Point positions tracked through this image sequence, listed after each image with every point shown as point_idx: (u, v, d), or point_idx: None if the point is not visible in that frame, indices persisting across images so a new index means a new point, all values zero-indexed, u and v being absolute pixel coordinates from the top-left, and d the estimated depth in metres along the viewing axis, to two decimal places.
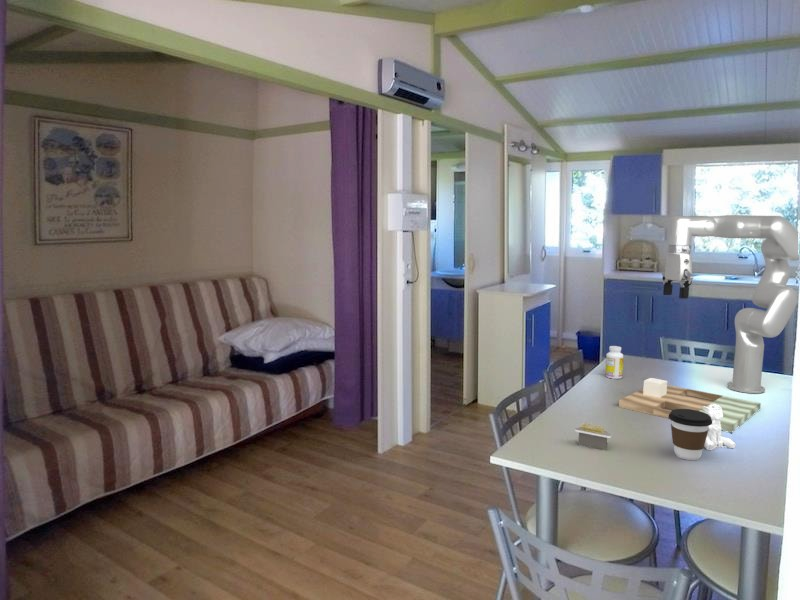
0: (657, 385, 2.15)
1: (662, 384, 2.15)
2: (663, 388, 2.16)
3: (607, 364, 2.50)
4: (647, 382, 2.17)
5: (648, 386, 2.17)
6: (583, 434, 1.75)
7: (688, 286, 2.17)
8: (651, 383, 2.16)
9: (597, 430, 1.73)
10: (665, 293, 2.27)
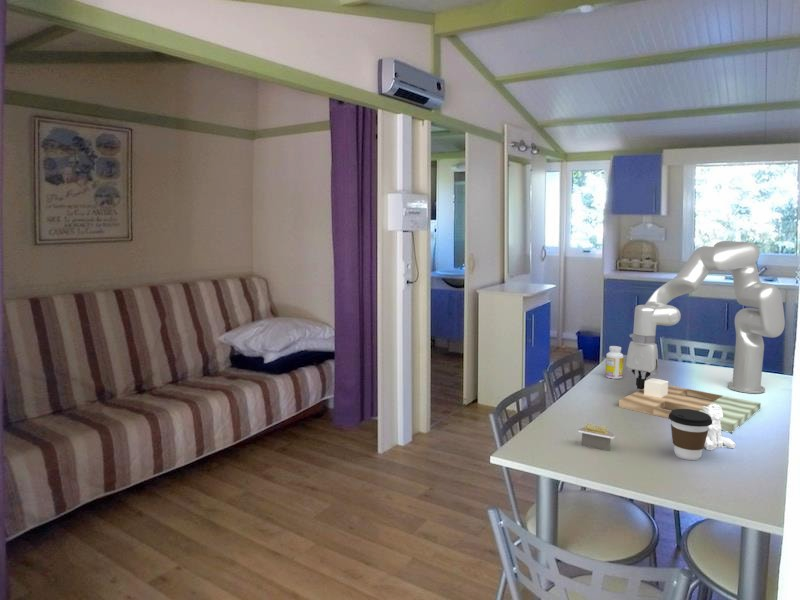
0: (658, 385, 2.14)
1: (663, 384, 2.15)
2: (664, 389, 2.15)
3: (607, 364, 2.50)
4: (648, 382, 2.17)
5: (649, 386, 2.17)
6: (586, 435, 1.75)
7: None
8: (652, 383, 2.16)
9: (600, 431, 1.72)
10: None
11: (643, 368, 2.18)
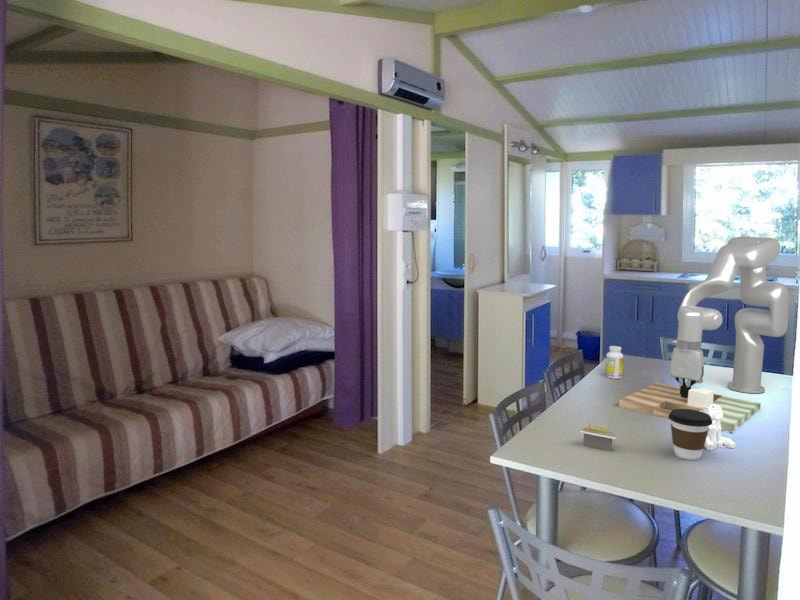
0: (703, 395, 2.03)
1: (708, 394, 2.03)
2: (709, 399, 2.04)
3: (607, 364, 2.50)
4: (692, 392, 2.05)
5: (693, 395, 2.05)
6: (588, 435, 1.74)
7: None
8: (696, 393, 2.04)
9: (602, 431, 1.72)
10: None
11: (688, 376, 2.07)
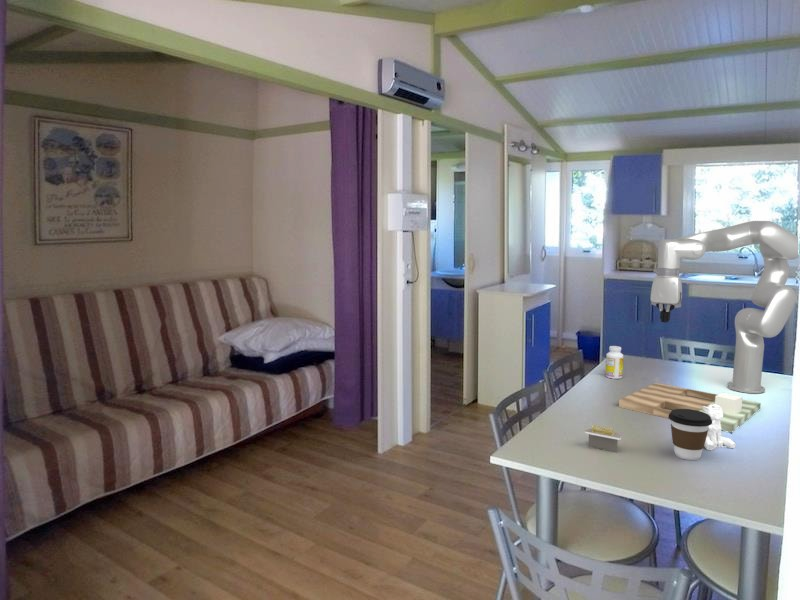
0: (731, 401, 1.96)
1: (736, 400, 1.96)
2: (737, 405, 1.97)
3: (607, 364, 2.50)
4: (719, 397, 1.99)
5: (720, 401, 1.99)
6: (593, 436, 1.74)
7: None
8: (724, 399, 1.98)
9: (607, 432, 1.71)
10: None
11: (667, 301, 2.22)
